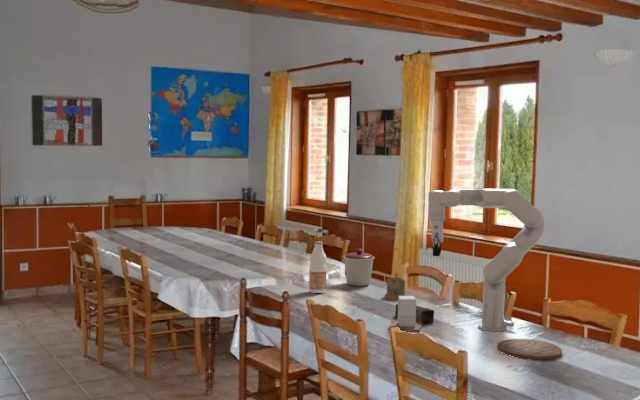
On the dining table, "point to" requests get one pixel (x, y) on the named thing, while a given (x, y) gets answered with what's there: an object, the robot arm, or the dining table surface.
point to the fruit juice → (317, 269)
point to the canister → (358, 268)
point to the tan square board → (411, 329)
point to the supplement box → (406, 311)
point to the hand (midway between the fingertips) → (436, 254)
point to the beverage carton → (421, 314)
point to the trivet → (529, 349)
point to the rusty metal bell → (395, 287)
